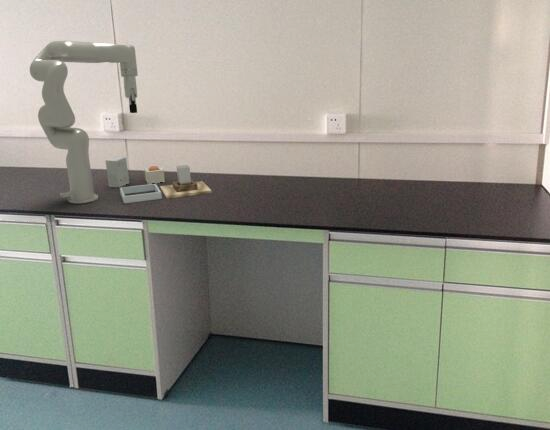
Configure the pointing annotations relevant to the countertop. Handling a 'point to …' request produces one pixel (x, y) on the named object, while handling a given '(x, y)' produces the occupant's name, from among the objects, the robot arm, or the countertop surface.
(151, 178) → the button post
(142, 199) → the tote tray
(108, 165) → the small box
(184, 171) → the block
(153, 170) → the button
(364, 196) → the countertop surface
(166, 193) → the plate
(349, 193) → the countertop surface
